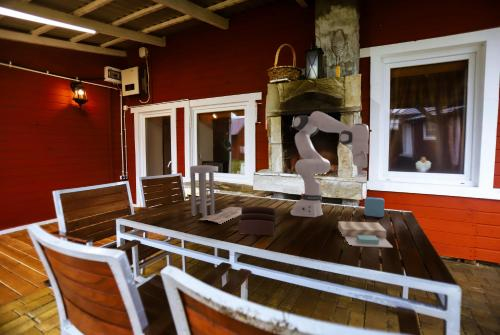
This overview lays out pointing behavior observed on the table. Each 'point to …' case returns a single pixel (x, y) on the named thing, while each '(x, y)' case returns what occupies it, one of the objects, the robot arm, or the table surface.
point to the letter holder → (257, 221)
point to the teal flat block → (367, 239)
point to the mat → (355, 242)
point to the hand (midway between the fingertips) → (359, 174)
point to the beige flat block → (361, 229)
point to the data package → (374, 207)
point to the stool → (202, 189)
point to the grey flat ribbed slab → (223, 215)
